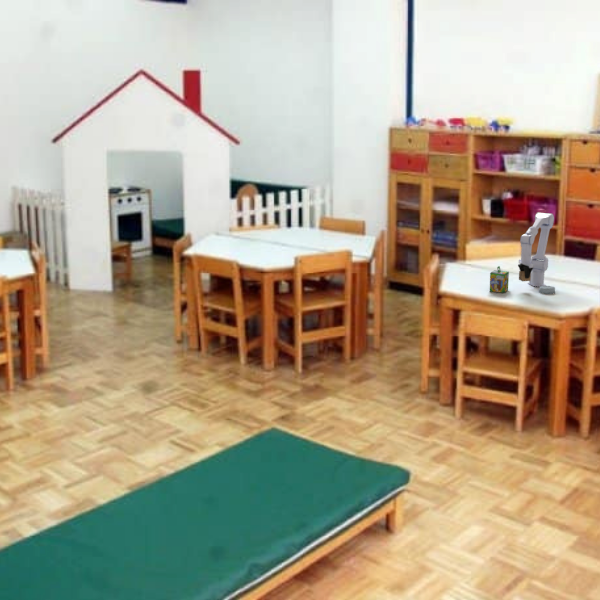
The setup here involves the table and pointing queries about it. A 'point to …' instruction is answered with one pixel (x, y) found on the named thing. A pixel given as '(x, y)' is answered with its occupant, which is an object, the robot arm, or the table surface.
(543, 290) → the platform
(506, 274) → the chalk box
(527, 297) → the table surface
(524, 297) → the table surface
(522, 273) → the cube
